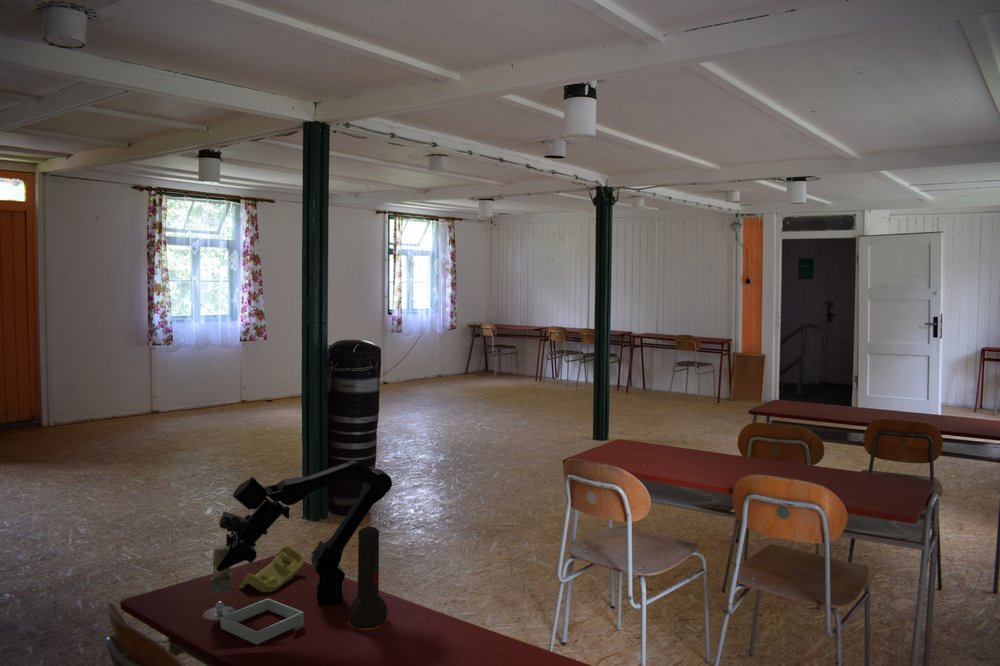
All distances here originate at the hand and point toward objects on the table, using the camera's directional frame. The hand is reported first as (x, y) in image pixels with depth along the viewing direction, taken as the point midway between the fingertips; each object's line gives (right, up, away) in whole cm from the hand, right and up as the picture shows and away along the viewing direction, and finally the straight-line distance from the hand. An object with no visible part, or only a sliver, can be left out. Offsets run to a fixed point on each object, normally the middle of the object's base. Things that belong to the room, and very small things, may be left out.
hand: (217, 567), depth 187 cm
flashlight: (+39, -14, +1) cm, 41 cm away
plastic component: (+7, -13, +25) cm, 29 cm away
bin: (+13, -14, -5) cm, 20 cm away
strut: (+1, -6, +1) cm, 6 cm away
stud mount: (0, -13, +2) cm, 14 cm away
